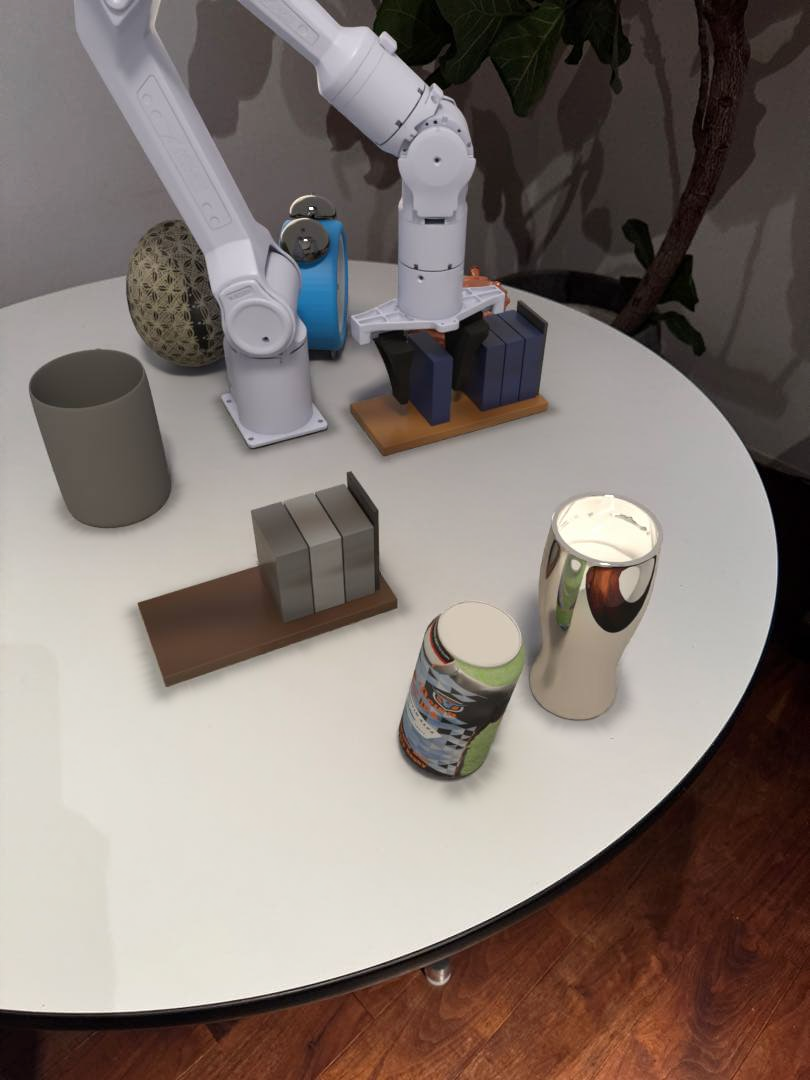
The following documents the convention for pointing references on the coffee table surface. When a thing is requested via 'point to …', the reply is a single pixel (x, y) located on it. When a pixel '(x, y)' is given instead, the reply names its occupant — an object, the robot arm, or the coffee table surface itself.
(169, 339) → the decorative egg
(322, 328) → the alarm clock
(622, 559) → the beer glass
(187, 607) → the walnut book board
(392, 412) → the oak book board
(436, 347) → the navy book
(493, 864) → the coffee table surface
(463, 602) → the beverage can
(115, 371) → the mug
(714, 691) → the coffee table surface
